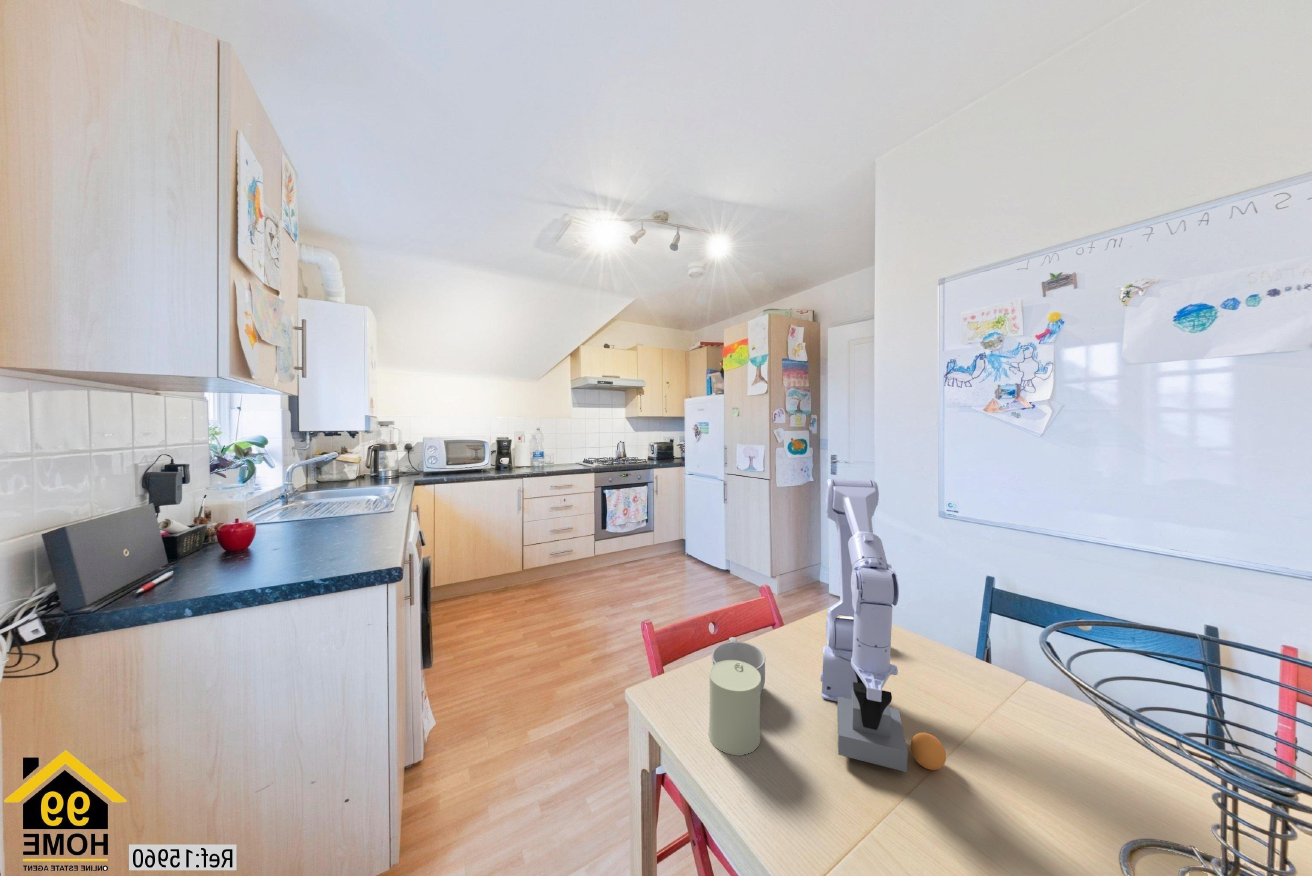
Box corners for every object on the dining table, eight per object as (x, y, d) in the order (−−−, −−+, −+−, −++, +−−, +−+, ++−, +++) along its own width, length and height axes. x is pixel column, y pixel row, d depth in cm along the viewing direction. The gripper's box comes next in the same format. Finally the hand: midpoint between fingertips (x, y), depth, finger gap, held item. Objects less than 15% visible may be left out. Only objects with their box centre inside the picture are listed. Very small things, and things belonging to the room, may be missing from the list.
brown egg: (912, 772, 72) (913, 743, 72) (907, 749, 77) (908, 722, 76) (948, 781, 70) (950, 752, 70) (941, 758, 75) (942, 730, 75)
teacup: (765, 712, 86) (766, 673, 85) (709, 705, 88) (709, 666, 88) (763, 670, 100) (763, 635, 99) (714, 664, 102) (714, 630, 101)
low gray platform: (838, 754, 74) (839, 713, 73) (837, 713, 83) (838, 677, 82) (906, 772, 70) (908, 729, 70) (897, 727, 80) (899, 689, 79)
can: (762, 724, 83) (764, 662, 82) (757, 762, 74) (758, 693, 73) (713, 712, 86) (714, 653, 85) (703, 747, 77) (703, 682, 76)
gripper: (905, 667, 67) (901, 752, 68) (892, 622, 80) (889, 694, 82) (853, 657, 70) (850, 739, 71) (850, 616, 83) (847, 685, 84)
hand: (868, 714), depth 76 cm, fingers closed on low gray platform, 6 cm apart
